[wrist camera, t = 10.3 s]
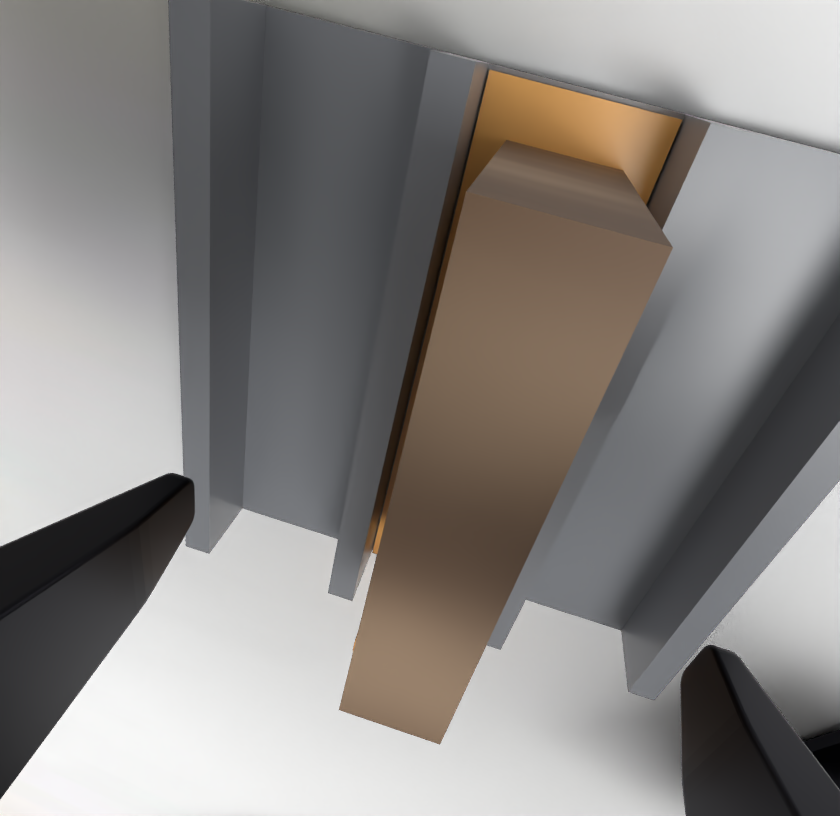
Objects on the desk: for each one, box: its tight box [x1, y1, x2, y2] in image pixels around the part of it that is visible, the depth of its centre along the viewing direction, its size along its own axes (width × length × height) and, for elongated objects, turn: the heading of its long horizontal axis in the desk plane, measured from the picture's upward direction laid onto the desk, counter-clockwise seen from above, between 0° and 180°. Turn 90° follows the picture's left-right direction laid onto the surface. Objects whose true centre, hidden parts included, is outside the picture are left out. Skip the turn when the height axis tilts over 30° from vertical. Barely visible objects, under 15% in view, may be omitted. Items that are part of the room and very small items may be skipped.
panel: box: [339, 140, 673, 744], centre depth 12 cm, size 12×2×6 cm, turn 168°
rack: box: [168, 0, 840, 700], centre depth 14 cm, size 15×15×4 cm
